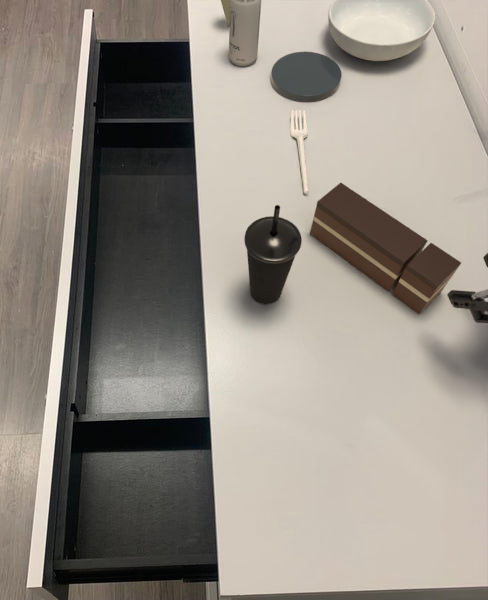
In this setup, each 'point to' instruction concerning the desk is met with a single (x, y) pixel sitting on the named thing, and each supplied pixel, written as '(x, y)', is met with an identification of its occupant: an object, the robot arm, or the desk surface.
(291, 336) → the desk surface
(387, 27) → the serving bowl
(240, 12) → the energy drink can
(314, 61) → the plate
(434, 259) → the cake slice
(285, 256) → the drinking cup
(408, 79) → the desk surface
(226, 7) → the ice cream cone
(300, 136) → the fork
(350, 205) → the loaf cake
